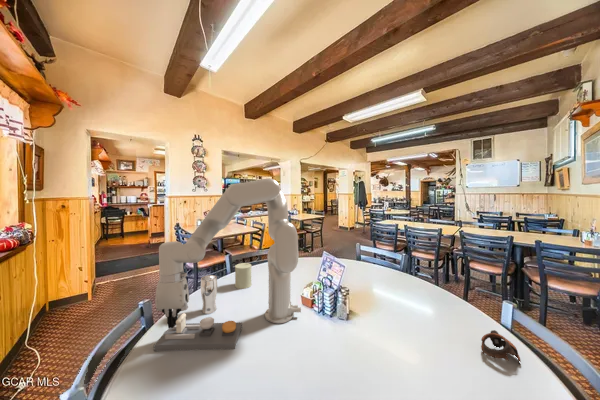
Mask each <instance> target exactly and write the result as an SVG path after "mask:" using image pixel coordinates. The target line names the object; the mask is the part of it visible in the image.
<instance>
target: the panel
mask: <svg viewBox="0 0 600 400" xmlns="http://www.w3.org/2000/svg"><path fill="white" fill-rule="evenodd" d="M223 323H224V322H214V325H213V326H212V327H211V328H209V329H207V330H206V329H201V328H200V322H198V323H197V322H196V323H186V327H185V328H187V331H186V332H185V334H175V333H176V325H175V326H174V327H173V328H167V330H166V331H165V332H164V333H163V334H162V335H161V337H160V338H159V339H158V340H157V341H156V343H155V344H154V345H153V351H154V352H161V351H163V352H164V351H165V352H168V351H169V352H171V351H201V350H202V351H204V350H205V351H206V350H207V351H208V350H213V351H214V350H236V347H237V345H238V341H239V337H240V334H241V332H242V329H243V322H236V329H235V330H234V331H233V332H230V333H224V332H223V331H222V325H223Z"/></svg>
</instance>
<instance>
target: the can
mask: <svg viewBox="0 0 600 400" xmlns="http://www.w3.org/2000/svg"><path fill="white" fill-rule="evenodd" d="M234 274H235V275H234V277H235V283H234V284H235V285H234V288H236V289H239V290H240V289H241V290H246V289H249V288H251V286H252V285H253V284H252V264H251V263H248V262H241V263H238V264H235V265H234Z"/></svg>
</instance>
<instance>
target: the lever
mask: <svg viewBox="0 0 600 400" xmlns="http://www.w3.org/2000/svg"><path fill="white" fill-rule="evenodd" d="M186 317H187V314H186V313H185V312H183V313H182V314H181V315H179V316H178V319H177V320H176V333H175V334H185V332H186V331H187V328H185V327H186V324H187V323H186Z"/></svg>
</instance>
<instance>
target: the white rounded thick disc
mask: <svg viewBox="0 0 600 400" xmlns="http://www.w3.org/2000/svg"><path fill="white" fill-rule="evenodd" d="M199 323H200V328H201V329H206V330H207V329H209V328H211V327H212V326H213V325H214V323H215V318H214V317H211V316H208V317H204V318H202V319H201V320H200V321H199Z"/></svg>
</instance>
